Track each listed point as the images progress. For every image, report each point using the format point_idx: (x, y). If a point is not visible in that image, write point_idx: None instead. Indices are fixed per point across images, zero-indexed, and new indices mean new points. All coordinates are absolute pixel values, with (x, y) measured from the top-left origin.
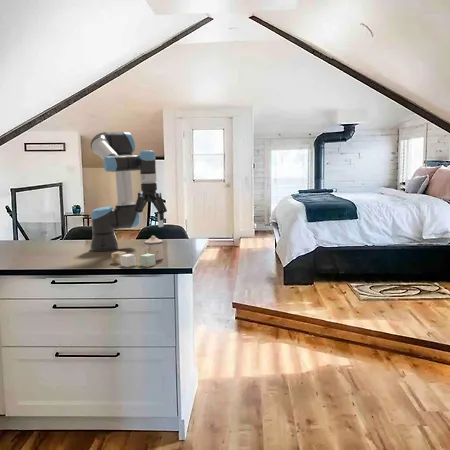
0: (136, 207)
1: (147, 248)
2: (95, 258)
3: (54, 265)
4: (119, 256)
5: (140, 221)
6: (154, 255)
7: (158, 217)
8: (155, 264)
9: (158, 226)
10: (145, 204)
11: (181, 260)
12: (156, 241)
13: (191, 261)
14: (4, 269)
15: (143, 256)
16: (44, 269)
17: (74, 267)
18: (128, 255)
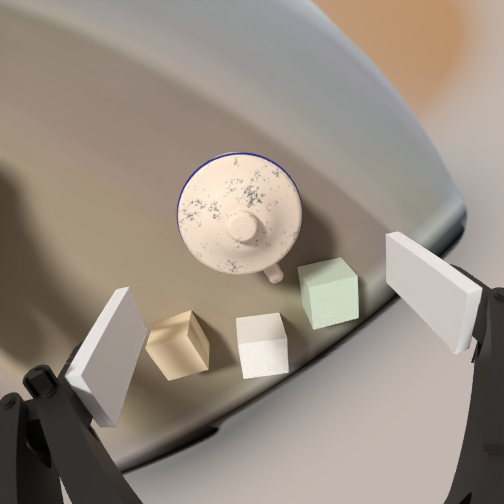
0: (56, 471)
1: (281, 278)
2: (56, 346)
3: (99, 438)
4: (208, 362)
5: (136, 349)
6: (356, 278)
7: (439, 327)
8: (340, 258)
9: (389, 284)
10: (116, 489)
11: (364, 131)
12: (292, 227)
13: (409, 122)
14: None
15: (334, 322)
16: (134, 460)
17: (156, 430)
18: (272, 360)
